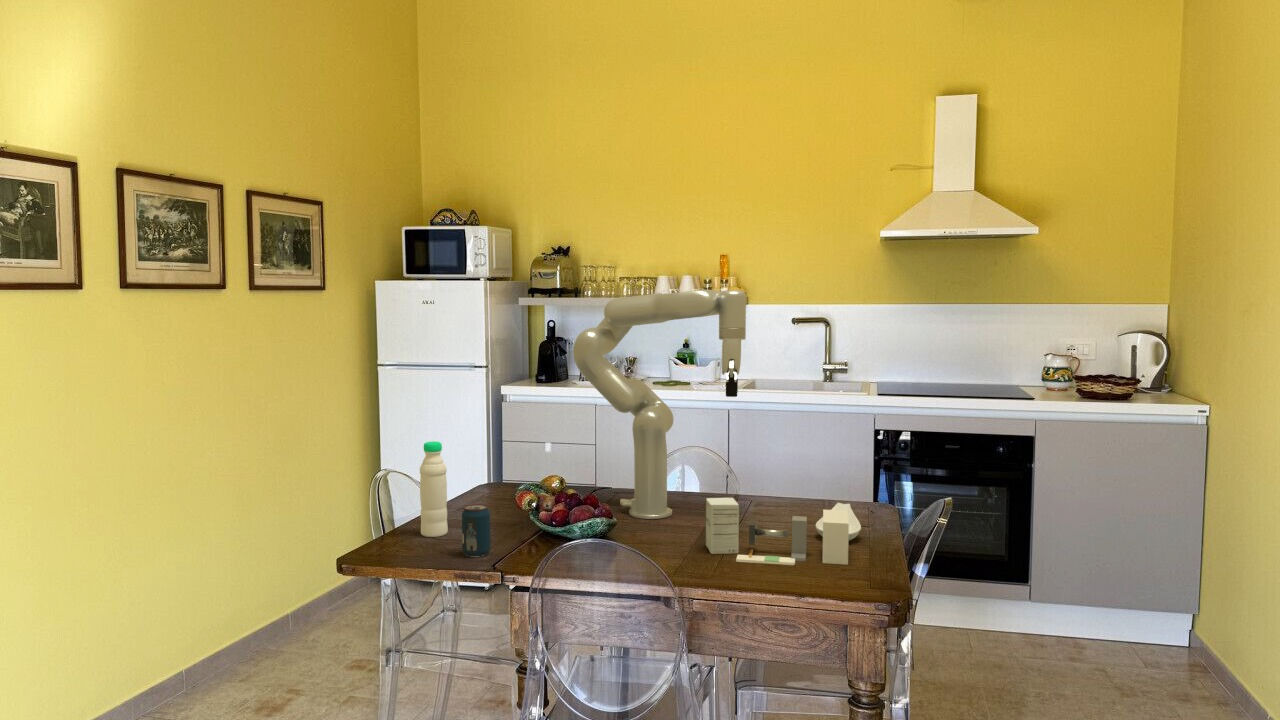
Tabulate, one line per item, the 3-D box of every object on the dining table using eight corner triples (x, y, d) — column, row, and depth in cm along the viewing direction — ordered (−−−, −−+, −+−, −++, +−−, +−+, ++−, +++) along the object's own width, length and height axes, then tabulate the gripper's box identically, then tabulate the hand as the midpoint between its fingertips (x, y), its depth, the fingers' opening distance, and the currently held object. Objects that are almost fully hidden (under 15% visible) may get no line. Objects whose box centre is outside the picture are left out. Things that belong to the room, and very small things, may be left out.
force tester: (736, 561, 221) (736, 521, 220) (742, 543, 236) (742, 505, 236) (848, 568, 216) (849, 526, 215) (846, 549, 231) (847, 510, 230)
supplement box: (705, 546, 234) (705, 497, 233) (733, 545, 235) (734, 497, 234) (709, 554, 227) (710, 504, 226) (739, 553, 228) (739, 503, 227)
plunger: (747, 555, 222) (747, 529, 222) (750, 544, 232) (750, 519, 232) (786, 558, 220) (786, 531, 220) (788, 546, 231) (788, 520, 230)
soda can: (487, 548, 232) (487, 502, 231) (493, 556, 225) (492, 508, 224) (460, 551, 229) (459, 504, 228) (464, 559, 223) (464, 511, 222)
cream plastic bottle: (415, 534, 245) (413, 442, 243) (437, 529, 250) (436, 439, 248) (430, 539, 240) (429, 445, 238) (452, 534, 246) (451, 442, 244)
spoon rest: (859, 547, 234) (859, 520, 233) (812, 543, 237) (813, 516, 237) (865, 525, 256) (865, 499, 256) (822, 521, 260) (823, 496, 259)
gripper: (719, 332, 266) (719, 391, 267) (717, 335, 249) (717, 398, 250) (745, 332, 265) (745, 391, 266) (745, 335, 248) (745, 398, 249)
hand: (731, 394), depth 258 cm, fingers open, 9 cm apart
